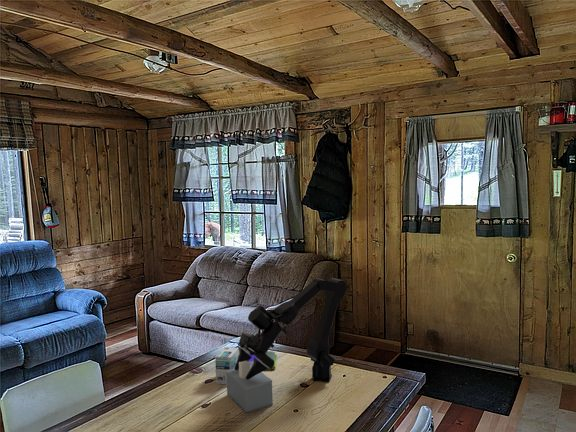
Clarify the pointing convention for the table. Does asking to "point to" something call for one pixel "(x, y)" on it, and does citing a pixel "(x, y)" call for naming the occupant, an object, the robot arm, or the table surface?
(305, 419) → the table surface
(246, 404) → the carton
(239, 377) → the carton lid
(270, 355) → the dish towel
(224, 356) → the light bulb box
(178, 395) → the table surface
